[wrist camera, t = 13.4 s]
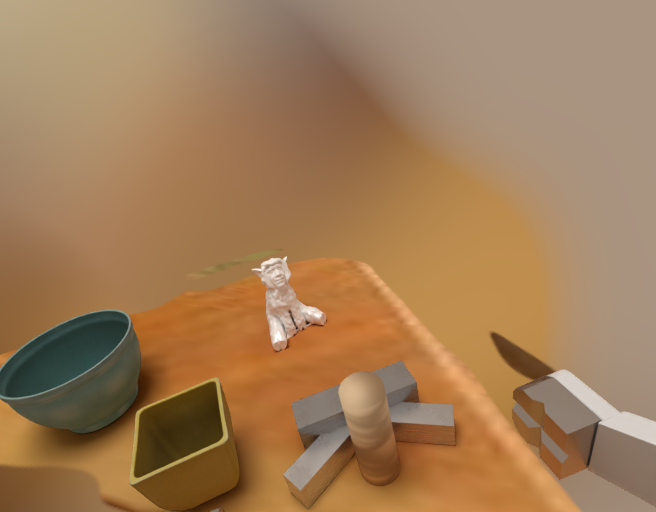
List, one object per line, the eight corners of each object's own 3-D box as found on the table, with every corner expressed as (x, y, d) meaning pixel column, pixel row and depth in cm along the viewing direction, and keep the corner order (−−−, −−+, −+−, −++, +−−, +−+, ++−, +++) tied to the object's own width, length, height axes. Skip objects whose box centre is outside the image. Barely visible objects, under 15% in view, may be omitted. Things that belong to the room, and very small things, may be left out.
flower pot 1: (163, 348, 64) (133, 295, 59) (163, 421, 50) (124, 360, 45) (58, 390, 60) (17, 337, 55) (26, 482, 46) (-33, 422, 41)
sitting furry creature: (277, 355, 56) (252, 287, 51) (253, 329, 63) (228, 267, 57) (329, 322, 60) (311, 256, 55) (301, 301, 67) (282, 241, 61)
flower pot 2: (258, 496, 39) (228, 439, 34) (170, 540, 37) (127, 485, 33) (244, 429, 46) (218, 375, 42) (170, 462, 44) (135, 409, 40)
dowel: (368, 492, 37) (346, 415, 32) (354, 456, 40) (332, 381, 35) (407, 476, 37) (391, 397, 32) (390, 441, 41) (373, 365, 36)
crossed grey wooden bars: (295, 514, 36) (281, 483, 34) (280, 441, 44) (268, 411, 41) (466, 440, 39) (464, 407, 37) (426, 383, 46) (422, 352, 44)
